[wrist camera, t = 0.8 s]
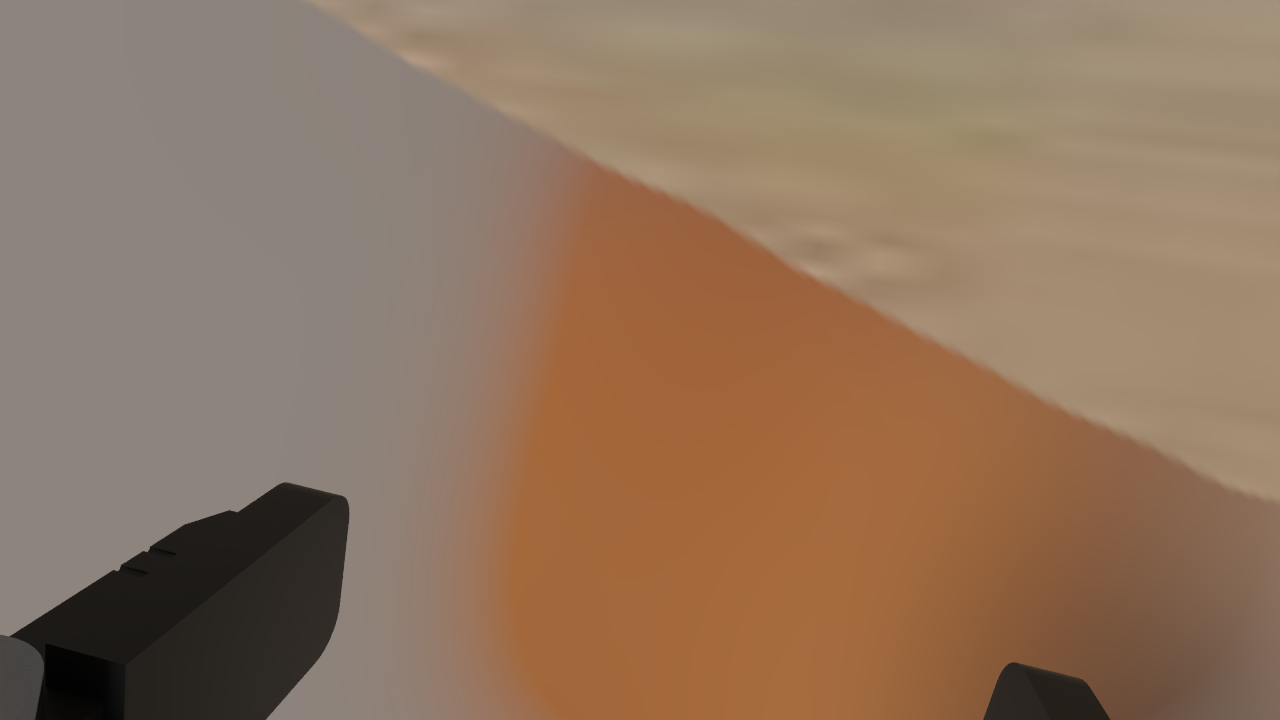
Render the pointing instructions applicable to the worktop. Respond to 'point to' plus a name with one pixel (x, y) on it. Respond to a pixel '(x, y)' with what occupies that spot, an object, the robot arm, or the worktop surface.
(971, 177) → the worktop surface
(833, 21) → the worktop surface
